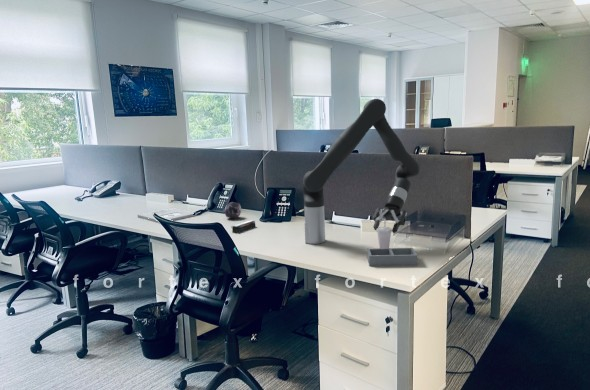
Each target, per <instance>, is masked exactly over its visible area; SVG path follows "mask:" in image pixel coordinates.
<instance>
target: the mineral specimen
mask: <svg viewBox="0 0 590 390" xmlns="http://www.w3.org/2000/svg"><path fill="white" fill-rule="evenodd" d="M241 214H242V207H241V204H240V202H235V201H231V202H229V203H227V204H226V206H225V208H224V215H225V217H226V218H229V219H237V218H239V217H240V215H241Z"/></svg>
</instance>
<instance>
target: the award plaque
mask: <svg viewBox="0 0 590 390" xmlns="http://www.w3.org/2000/svg"><path fill="white" fill-rule="evenodd" d="M153 213H157V214H158V215H160V216H162V217H163V216H164V218H167V219H171V220H175V221H179V220H184V219H188V218H192V217H197V216H198V213H197V214H195V215H193V214H194V213H195V212H193V211H189V210H183V209H179V208H175V207H169V208H164V209H158V210H154V211H148V212H144V213H140V214H137V218H139V219H143V220H147V221H150V222H154V223H158V221H156V220H155V219H154V217H153ZM148 218H149V219H148ZM158 224H159V223H158Z"/></svg>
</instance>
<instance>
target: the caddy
mask: <svg viewBox="0 0 590 390" xmlns="http://www.w3.org/2000/svg"><path fill="white" fill-rule="evenodd" d="M366 259H367V263H368V266H369V267H390V266H391V267H393V266H394V267H395V266H396V267H397V266H398V267H401V266H403V267H404V266H405V267H407V266H409V267H410V266H418V254H417V252H416V251H415V249H414V248H413V247H389V248H380V247H379V248H367V249H366Z"/></svg>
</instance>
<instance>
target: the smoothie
mask: <svg viewBox="0 0 590 390" xmlns="http://www.w3.org/2000/svg"><path fill="white" fill-rule="evenodd" d="M392 229H393V228H391V227H390V226H389V227H387V225H386V220H385V219H384V221H383V226H379V227H378V228H377V230H376V232H377V238H378V239H377V240H378V246H379V248H390V244H391V236H392V233H393V232H392Z"/></svg>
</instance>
